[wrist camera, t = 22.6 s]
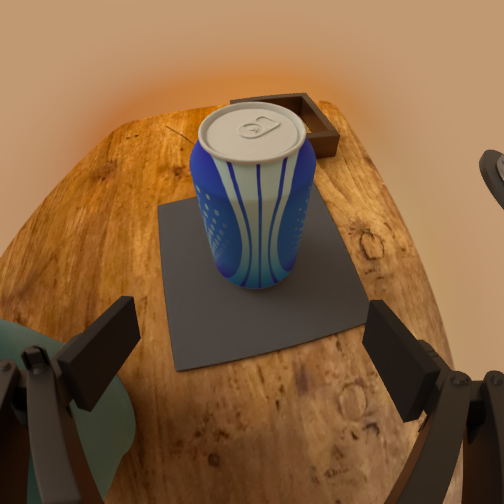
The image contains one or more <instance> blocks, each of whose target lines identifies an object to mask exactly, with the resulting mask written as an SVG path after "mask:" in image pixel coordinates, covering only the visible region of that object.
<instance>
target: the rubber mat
mask: <svg viewBox="0 0 504 504" xmlns="http://www.w3.org/2000/svg"><path fill="white" fill-rule="evenodd" d="M158 223H159V239H160V253H161V265H162V275H163V285H164V294H165V303H166V311H167V318H168V326H169V333H170V339H171V346H172V352H173V358H174V364H175V369H176V371H184V370H189V369H195V368H201V367H206V366H211V365H216V364H221V363H226V362H231V361H235V360H240V359H244V358H249V357H253V356H257V355H261V354H266V353H269V352H273V351H277V350H281V349H285V348H289V347H292V346H296V345H299V344H303V343H306V342H310V341H313V340H317V339H320V338H323V337H326V336H330V335H333V334H336V333H339V332H342V331H345V330H348V329H351V328H354V327H357V326H360V325H363V324H366V321H367V315H368V310H369V304H370V303H369V300H368V298H367V295H366V293H365V290H364V288H363V286H362V283H361V281H360V278H359V276H358V274H357V271H356V269H355V267H354V264H353V262H352V260H351V258H350V255H349V253H348V251H347V249H346V246H345V244H344V242H343V240H342V238H341V236H340V233H339V231H338V229H337V227H336V225H335V223H334V221H333V219H332V217H331V215H330V212H329V210H328V208H327V206H326V204H325V202H324V200H323V198H322V196H321V195H320V193H319V191H318V189H317V187H316V185H315V183H314V181H313V184H312V189H311V193H310V198H309V203H308V208H307V213H306V217H305V222H304V226H303V231H302V235H301V240H300V244H299V249H298V253H297V257H296V261H295V264H294V266H293V268H292V270H291V271H290V273H289V274H288V275H287V276H286V277H285V278H284V279H283V280H282V281H280V282H279V283H277V284H275V285H273V286H270V287H266V288H261V289H249V288H243V287H240V286H237V285H235V284H233V283H231V282H230V281H228V280H227V279H226V278H225V277H224V276H223V275H222V274H221V273H220V272H219V270H218V269H217V267H216V264H215V261H214V258H213V254H212V251H211V247H210V244H209V240H208V236H207V233H206V229H205V225H204V221H203V218H202V214H201V210H200V206H199V202H198V199H197V197H193V198H189V199H184V200H180V201H176V202H171V203H167V204H163V205H159V206H158Z"/></svg>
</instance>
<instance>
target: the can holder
mask: <svg viewBox="0 0 504 504" xmlns="http://www.w3.org/2000/svg"><path fill="white" fill-rule="evenodd" d="M242 102H265V103H271V104H275V105H279V106H281V107H284V108H286V109H288V110H290V111H292V112H293V113H295V114H296V115H300V116H301V117H302V119H303V120H304V122H305V123H306V124H307V126H308V127H309V129H310V130H311V132H312V133H306V137H307V139H308V140H309V142H310V144H311V145H312V147H313V149H314V153H315V157H316V158H325V157H333V156H335V155H336V151H337V146H338V142H339V138H340V135H339V133H338V132H337V131H336V129H335V128H334V127H333V125H332V124H331V123H330V122H329V120H328V119H327V118H326V116H325V115H324V114H323V113H322V112H321V110H320V109H319V108H318V107H317V105H316V104H315V103H314V102H313V101H312V99H311V98H310V97H309V96H308V95H307V94H306V93H293V94H281V95H270V96H260V97H251V98H244V99H236V100H230V105H232V104H236V103H242Z"/></svg>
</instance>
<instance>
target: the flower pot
mask: <svg viewBox="0 0 504 504" xmlns="http://www.w3.org/2000/svg"><path fill="white" fill-rule="evenodd" d="M36 344H39V345H43V346H44V347H45V348H46V351H47V354H48V356H49V359H51V358H52V357H53V356H54V355H55V354H56V353H57V352H58V351H59V350H60V349H61V348H62V347H63V346H64V345H65V344H67V343H63V342H60V341H57V340H55V339H52V338H50V337H47V336H45V335H43V334H41V333H39V332H37V331H34V330H32V329H30V328H27V327H25V326H22V325H19V324H16V323H13V322H10V321H7V320H3V319H0V361H1V360H4V359H13V360H14V361H15V362H16V364H17V366H18V369H26V367H25V365H24V363H23V360H22V358H21V356H20V354H21V352H22V351H23V350H24V349H25V348H26V347H28V346H31V345H36ZM11 406H12V403H11ZM70 406H71V408H72V411H73V415H74V419H75V423H76V427H77V430H78V434H79V437H80V441H81V444H82V447H83V450H84V453H85V456H86V459H87V462H88V465H89V468H90V471H91V473H92V476H93V478H94V481H95V483H96V486H97V488H98V491H99V493H100V495H101V498H102V500H103V501H104V499H105V497H106V495H107V493H108V491H109V489H110V487H111V484H112V482H113V479H114V476H115V473H116V470H117V468H118V466H119V463H120V461H121V459H122V457H123V455H124V454H125V453H127V452H128V450H129V449H130V447H131V446H132V444H133V441H134V438H135V432H136V422H135V414H134V410H133V407H132V403H131V400H130V398H129V395H128V393H127V391H126V389H125V387H124V385H123V384H122V382H121V380H120V378H119V377H118V375H117V374H116V375H115V377H114V378H113V380H112V381H111V383H110V384H109V386H108V387H107V389H106V390H105V392H104V393H103V395H102V396H101V398H100V399H99V401H98V402H97V404H96V405H95V407H94V409H93V410H92V412H88V411H85V410H82V409H79V408H77V406H76V404H75V401H74V399H73V400H72V401H71V402H70ZM27 504H42V503H41V498H40V494H39V490H38V486H37V481H36V476H35V471H34V466H33V460H32V453H31V451H30V459H29V470H28V485H27Z"/></svg>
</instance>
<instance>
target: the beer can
mask: <svg viewBox="0 0 504 504" xmlns="http://www.w3.org/2000/svg"><path fill="white" fill-rule="evenodd" d="M198 138H199V139H198V140H197V142H196V144H195V146H194V148H193V150H192V153H191V157H190V171H191V175H192V179H193V183H194V187H195V191H196V195H197V199H198V202H199V206H200V210H201V214H202V218H203V221H204V225H205V229H206V233H207V236H208V240H209V244H210V247H211V251H212V254H213V258H214V261H215V264H216V267H217V269H218V270H219V272H220V273H221V274H222V275H223V276H224V277H225V278H226V279H227V280H228V281H230V282H231V283H233V284H235V285H237V286H240V287H243V288H249V289H261V288H266V287H270V286H273V285H275V284H277V283H279V282H280V281H282V280H283V279H284V278H285V277H286V276H287V275H288V274H289V273H290V271H291V270H292V268H293V266H294V264H295V261H296V257H297V253H298V249H299V244H300V240H301V235H302V231H303V226H304V222H305V217H306V213H307V208H308V203H309V198H310V193H311V189H312V184H313V179H314V173H315V168H316V157H315V153H314V149H313V147H312V145H311V144H310V142H309V140H308V139H307V137H306V128H305V125H304V123H303V121H302V120H301V119H300V118H299V117H298V116H297V115H296V114H295V113H293V112H292V111H290V110H288V109H286V108H284V107H281V106H279V105H275V104H271V103H265V102H242V103H236V104H232V105H228V106H225V107H222V108H220V109H218V110H216V111H214V112H213V113H211V114H210V115H209V116H207V117H206V118H205V119H204V120H203V122H202V123H201V125H200V127H199V131H198Z"/></svg>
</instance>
